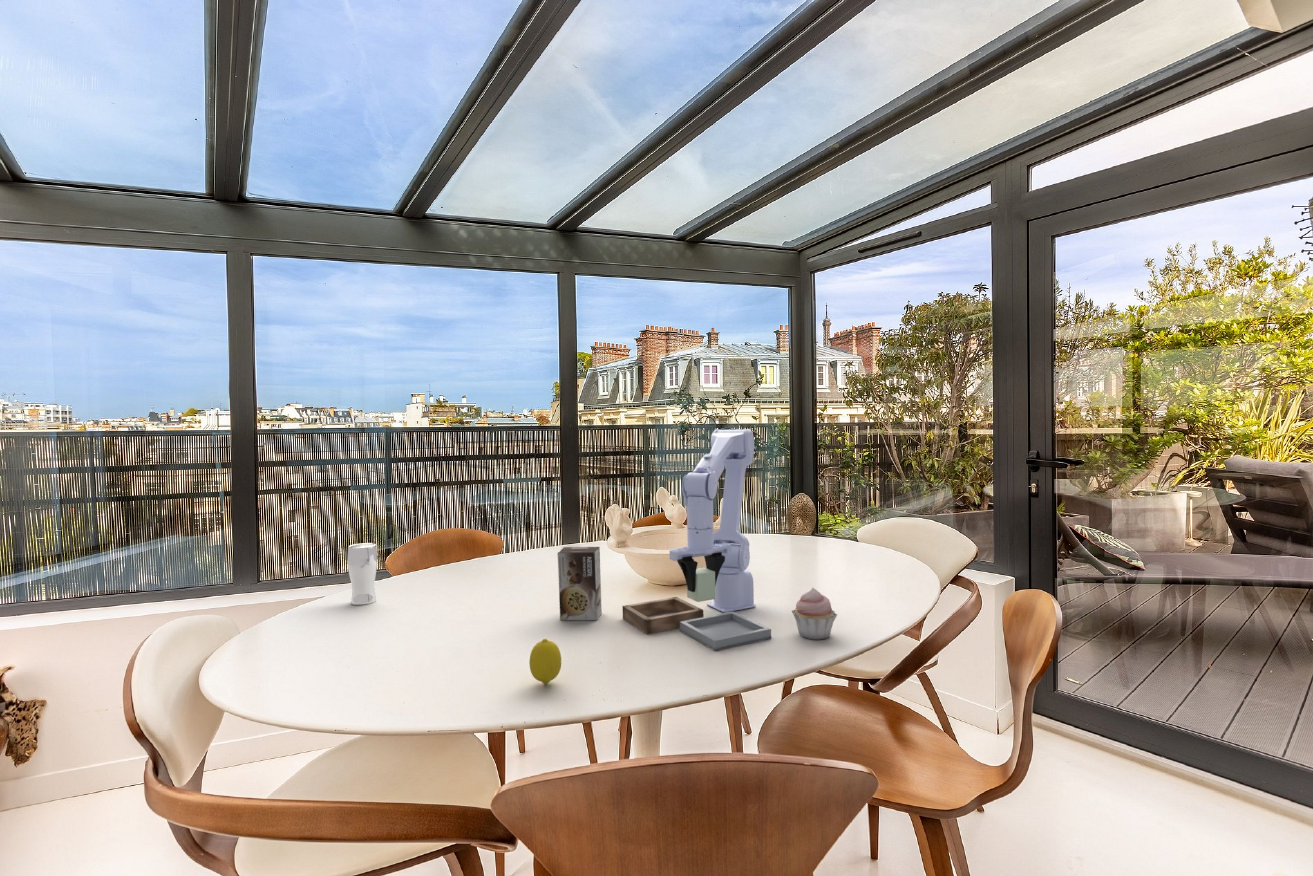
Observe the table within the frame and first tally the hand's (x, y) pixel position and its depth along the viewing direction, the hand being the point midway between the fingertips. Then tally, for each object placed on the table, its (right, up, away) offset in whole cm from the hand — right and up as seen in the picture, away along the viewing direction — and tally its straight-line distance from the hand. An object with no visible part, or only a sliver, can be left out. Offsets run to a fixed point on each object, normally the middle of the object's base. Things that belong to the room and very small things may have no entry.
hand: (701, 589), depth 135 cm
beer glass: (-87, -10, +28) cm, 92 cm away
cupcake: (+23, -9, -5) cm, 25 cm away
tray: (+5, -9, -3) cm, 11 cm away
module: (0, -2, 0) cm, 2 cm away
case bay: (-9, -9, +7) cm, 14 cm away
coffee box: (-28, -10, +11) cm, 32 cm away
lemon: (-29, -10, -27) cm, 41 cm away
